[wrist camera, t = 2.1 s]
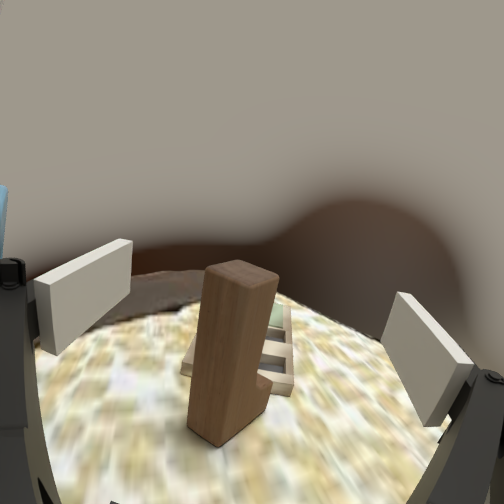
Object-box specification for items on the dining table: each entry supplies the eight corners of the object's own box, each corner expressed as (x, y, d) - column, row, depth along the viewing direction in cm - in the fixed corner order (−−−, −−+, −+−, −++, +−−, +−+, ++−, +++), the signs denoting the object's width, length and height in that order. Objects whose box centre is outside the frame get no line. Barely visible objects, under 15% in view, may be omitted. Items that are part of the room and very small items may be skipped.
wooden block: (236, 391, 37) (265, 251, 32) (266, 409, 35) (305, 265, 30) (184, 426, 30) (203, 265, 25) (217, 449, 27) (250, 285, 23)
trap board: (180, 373, 38) (182, 359, 38) (215, 301, 62) (217, 290, 61) (290, 396, 38) (294, 382, 37) (288, 316, 61) (290, 305, 60)
